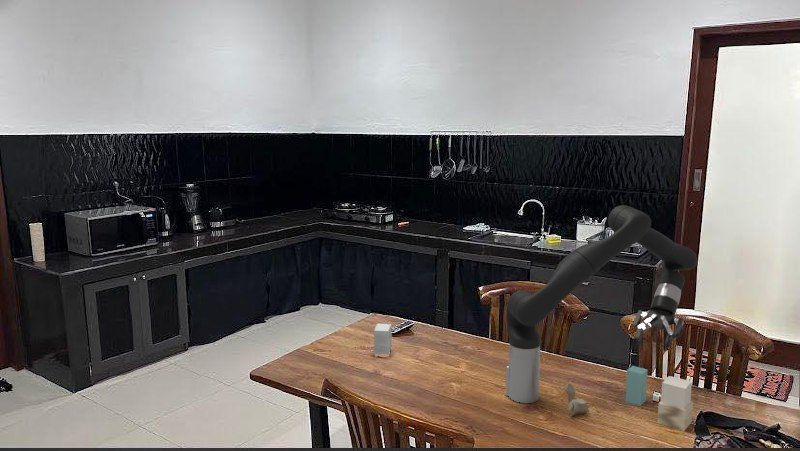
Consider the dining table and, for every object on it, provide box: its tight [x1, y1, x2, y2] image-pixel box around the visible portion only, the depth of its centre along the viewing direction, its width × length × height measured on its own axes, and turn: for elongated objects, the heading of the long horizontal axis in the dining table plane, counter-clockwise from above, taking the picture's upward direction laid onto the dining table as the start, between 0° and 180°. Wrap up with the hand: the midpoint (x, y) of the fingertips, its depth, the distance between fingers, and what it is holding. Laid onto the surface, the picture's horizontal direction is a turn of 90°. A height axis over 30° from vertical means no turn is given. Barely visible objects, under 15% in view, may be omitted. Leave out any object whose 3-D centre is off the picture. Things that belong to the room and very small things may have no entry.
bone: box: [565, 382, 590, 417], centre depth 165 cm, size 9×6×10 cm
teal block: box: [624, 365, 649, 407], centre depth 171 cm, size 4×4×10 cm
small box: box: [373, 323, 393, 354], centre depth 212 cm, size 8×6×10 cm
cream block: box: [660, 375, 693, 409], centre depth 158 cm, size 6×6×6 cm
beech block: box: [657, 400, 694, 432], centre depth 159 cm, size 7×7×6 cm
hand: (651, 343), depth 178 cm, fingers open, 8 cm apart
